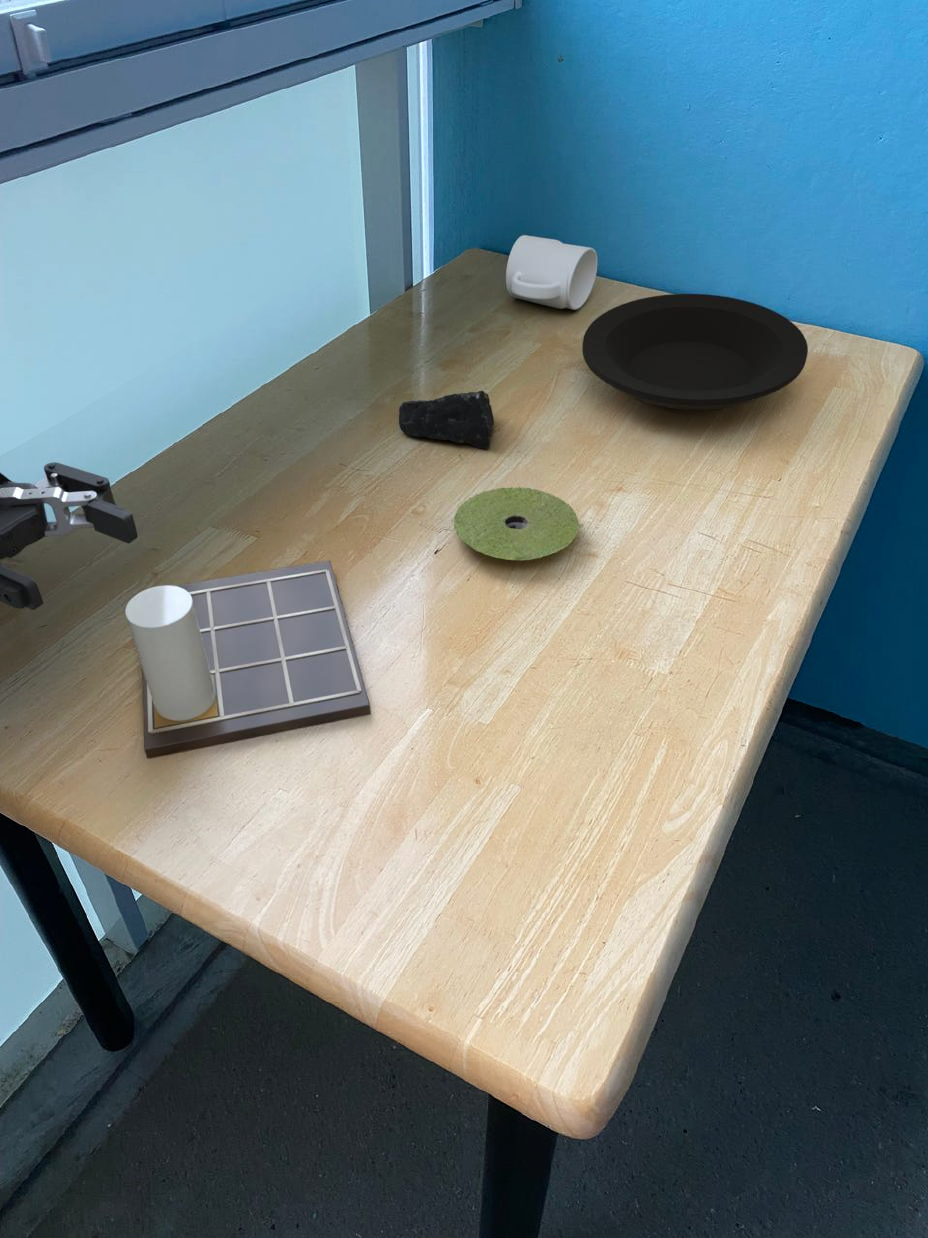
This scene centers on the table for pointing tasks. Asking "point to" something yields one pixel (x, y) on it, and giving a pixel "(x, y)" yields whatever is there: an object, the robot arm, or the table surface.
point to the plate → (694, 350)
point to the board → (267, 659)
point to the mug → (551, 272)
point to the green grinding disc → (516, 523)
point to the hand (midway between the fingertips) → (86, 561)
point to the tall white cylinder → (171, 651)
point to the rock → (450, 418)
